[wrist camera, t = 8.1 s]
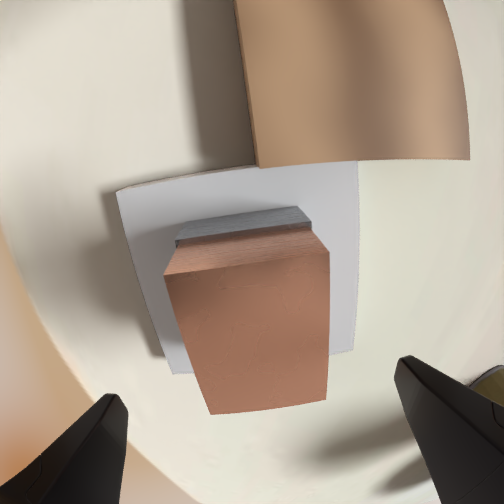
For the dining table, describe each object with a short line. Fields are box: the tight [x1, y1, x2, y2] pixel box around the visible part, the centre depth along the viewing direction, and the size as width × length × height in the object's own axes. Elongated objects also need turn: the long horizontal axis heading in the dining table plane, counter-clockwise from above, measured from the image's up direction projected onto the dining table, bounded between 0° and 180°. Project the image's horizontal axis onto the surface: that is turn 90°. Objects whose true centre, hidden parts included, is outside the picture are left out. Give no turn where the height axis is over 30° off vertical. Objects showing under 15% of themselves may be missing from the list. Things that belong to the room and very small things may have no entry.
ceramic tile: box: [116, 161, 360, 374], centre depth 15 cm, size 11×11×2 cm
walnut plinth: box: [233, 0, 470, 169], centre depth 10 cm, size 11×11×2 cm
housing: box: [163, 206, 330, 415], centre depth 12 cm, size 7×5×5 cm
